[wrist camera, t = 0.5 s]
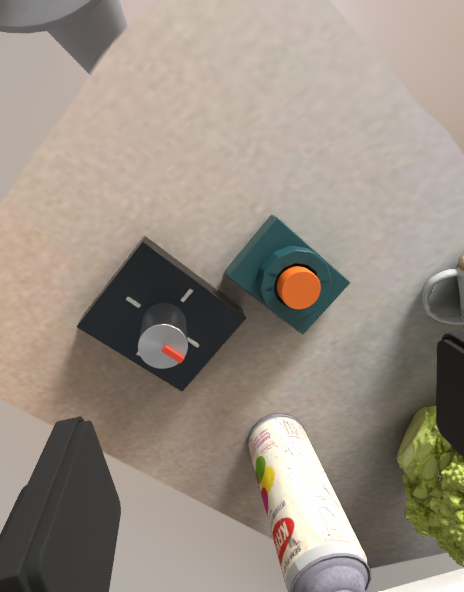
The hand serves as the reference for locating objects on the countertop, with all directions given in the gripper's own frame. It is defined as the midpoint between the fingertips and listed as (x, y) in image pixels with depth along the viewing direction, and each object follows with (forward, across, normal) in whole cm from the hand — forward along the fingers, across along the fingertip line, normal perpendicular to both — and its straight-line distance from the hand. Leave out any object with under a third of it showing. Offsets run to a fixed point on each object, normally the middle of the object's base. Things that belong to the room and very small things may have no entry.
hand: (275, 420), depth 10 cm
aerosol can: (+29, -4, +25) cm, 38 cm away
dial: (+25, +5, +7) cm, 27 cm away
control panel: (+28, +5, +7) cm, 29 cm away
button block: (+28, -7, +5) cm, 30 cm away
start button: (+25, -7, +5) cm, 26 cm away
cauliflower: (+29, -24, +30) cm, 48 cm away
